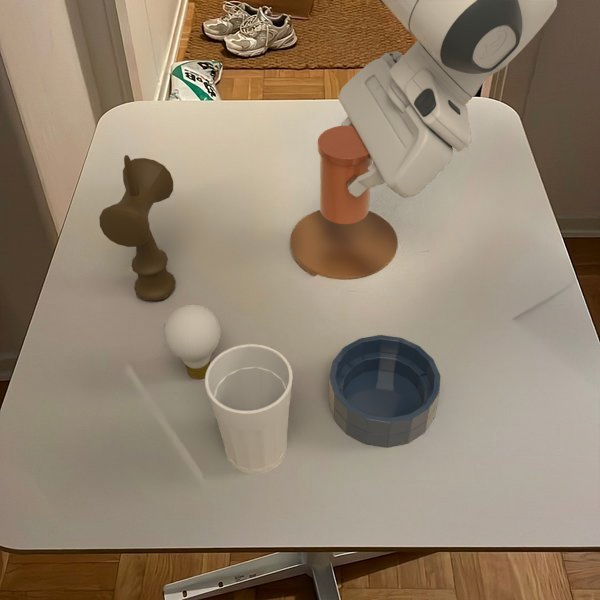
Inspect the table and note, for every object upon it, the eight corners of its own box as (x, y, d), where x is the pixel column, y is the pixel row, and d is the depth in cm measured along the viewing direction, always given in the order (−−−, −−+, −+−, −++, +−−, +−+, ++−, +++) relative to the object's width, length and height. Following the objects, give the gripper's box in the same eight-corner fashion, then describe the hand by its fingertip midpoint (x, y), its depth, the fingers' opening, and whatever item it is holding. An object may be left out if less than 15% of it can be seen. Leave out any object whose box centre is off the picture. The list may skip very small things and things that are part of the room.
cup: (202, 446, 76) (187, 373, 67) (263, 404, 80) (256, 330, 71) (249, 499, 72) (239, 429, 63) (311, 453, 75) (310, 380, 67)
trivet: (353, 199, 104) (354, 193, 103) (419, 254, 96) (419, 248, 95) (270, 237, 99) (270, 231, 98) (331, 298, 90) (332, 292, 90)
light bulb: (235, 363, 84) (228, 302, 76) (209, 402, 80) (199, 342, 73) (190, 347, 85) (179, 286, 78) (163, 384, 82) (148, 324, 74)
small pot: (349, 185, 96) (352, 119, 89) (382, 212, 92) (388, 145, 85) (306, 204, 94) (306, 137, 87) (338, 233, 90) (340, 166, 83)
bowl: (389, 349, 85) (392, 320, 81) (456, 415, 78) (463, 387, 75) (309, 394, 80) (309, 365, 77) (373, 468, 74) (376, 441, 70)
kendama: (189, 265, 95) (166, 132, 81) (167, 320, 88) (139, 185, 74) (144, 260, 96) (114, 127, 81) (120, 314, 89) (82, 180, 75)
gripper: (379, 30, 88) (301, 113, 94) (444, 121, 75) (349, 213, 80) (410, 59, 92) (334, 138, 98) (478, 151, 79) (385, 236, 84)
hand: (341, 172), depth 89 cm, fingers closed on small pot, 6 cm apart
